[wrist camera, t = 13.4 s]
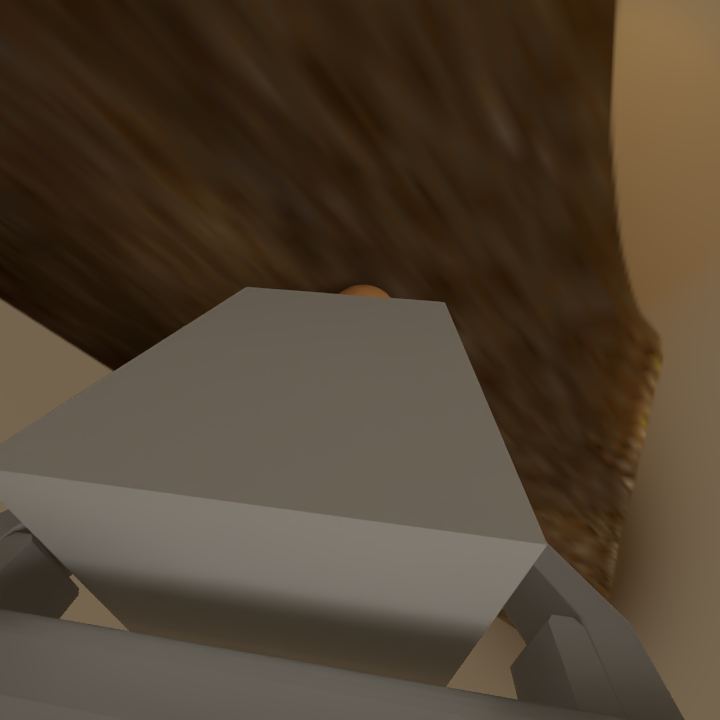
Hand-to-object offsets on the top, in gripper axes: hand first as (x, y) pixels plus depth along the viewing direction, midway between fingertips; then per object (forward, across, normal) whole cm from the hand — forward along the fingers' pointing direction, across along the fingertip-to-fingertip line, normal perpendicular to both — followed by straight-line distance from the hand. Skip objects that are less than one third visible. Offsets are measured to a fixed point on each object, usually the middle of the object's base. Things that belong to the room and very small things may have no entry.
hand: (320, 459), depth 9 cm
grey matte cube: (+4, 0, -1) cm, 4 cm away
